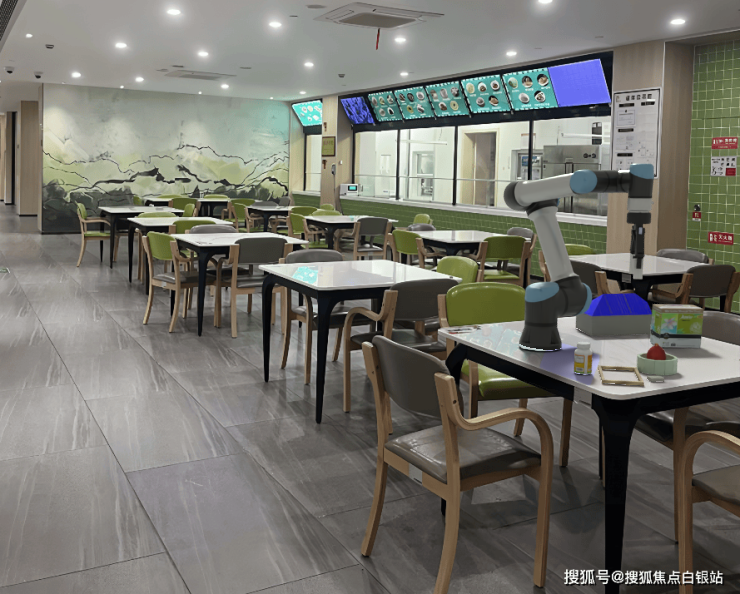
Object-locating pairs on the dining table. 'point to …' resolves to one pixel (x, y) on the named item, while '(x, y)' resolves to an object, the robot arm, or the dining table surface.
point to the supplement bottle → (583, 358)
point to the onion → (656, 353)
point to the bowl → (657, 365)
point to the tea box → (676, 325)
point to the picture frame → (639, 382)
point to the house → (616, 316)
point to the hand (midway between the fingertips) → (635, 276)
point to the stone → (655, 378)
